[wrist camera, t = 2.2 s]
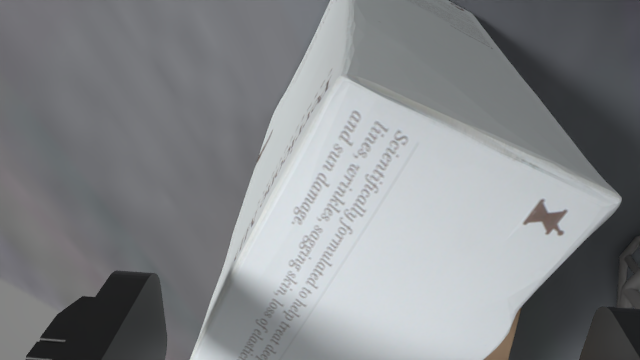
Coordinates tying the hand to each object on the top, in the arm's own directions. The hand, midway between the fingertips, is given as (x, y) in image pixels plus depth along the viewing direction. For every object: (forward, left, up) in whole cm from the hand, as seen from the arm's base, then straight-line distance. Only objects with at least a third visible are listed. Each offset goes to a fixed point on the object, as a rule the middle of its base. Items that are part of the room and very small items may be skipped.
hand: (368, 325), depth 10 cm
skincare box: (0, 0, -16) cm, 16 cm away
